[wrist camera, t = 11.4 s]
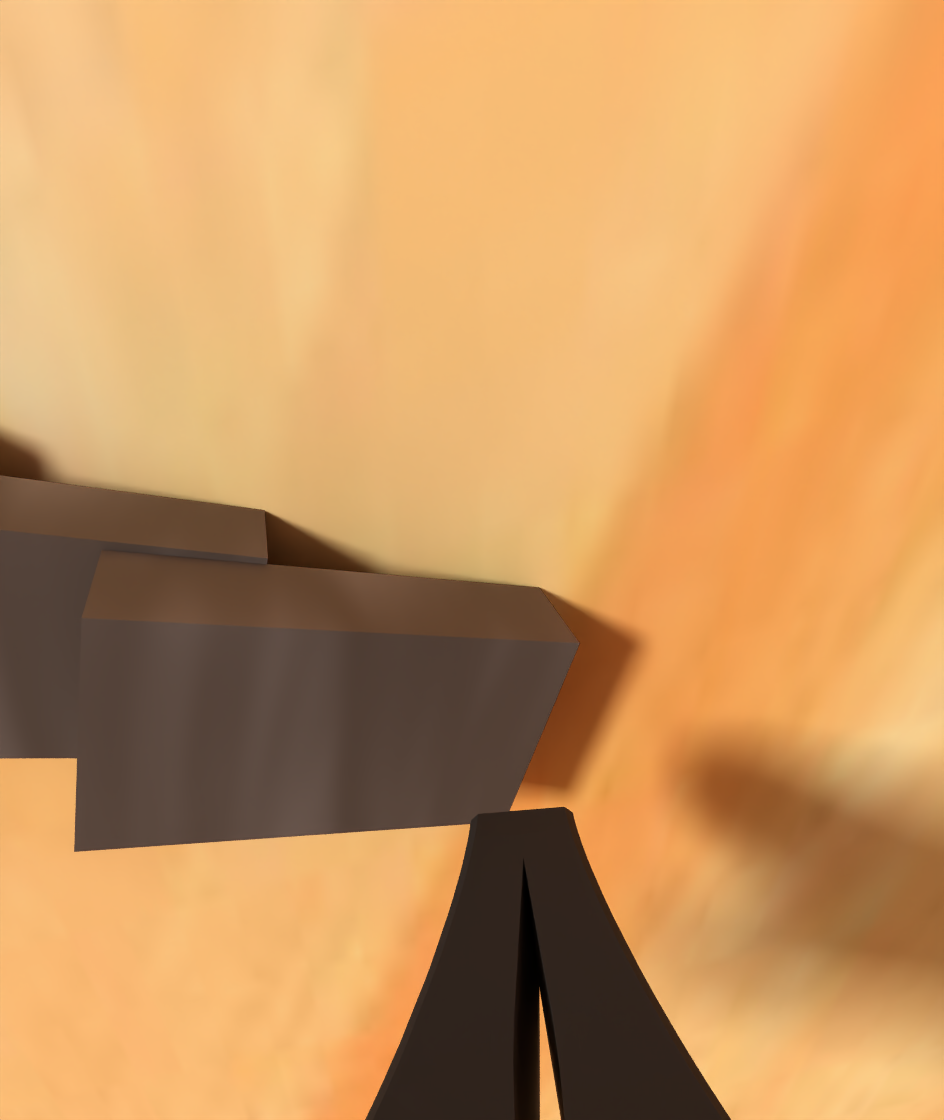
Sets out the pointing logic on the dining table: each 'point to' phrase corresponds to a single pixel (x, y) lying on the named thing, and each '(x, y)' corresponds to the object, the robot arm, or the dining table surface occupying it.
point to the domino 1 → (82, 588)
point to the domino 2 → (303, 700)
